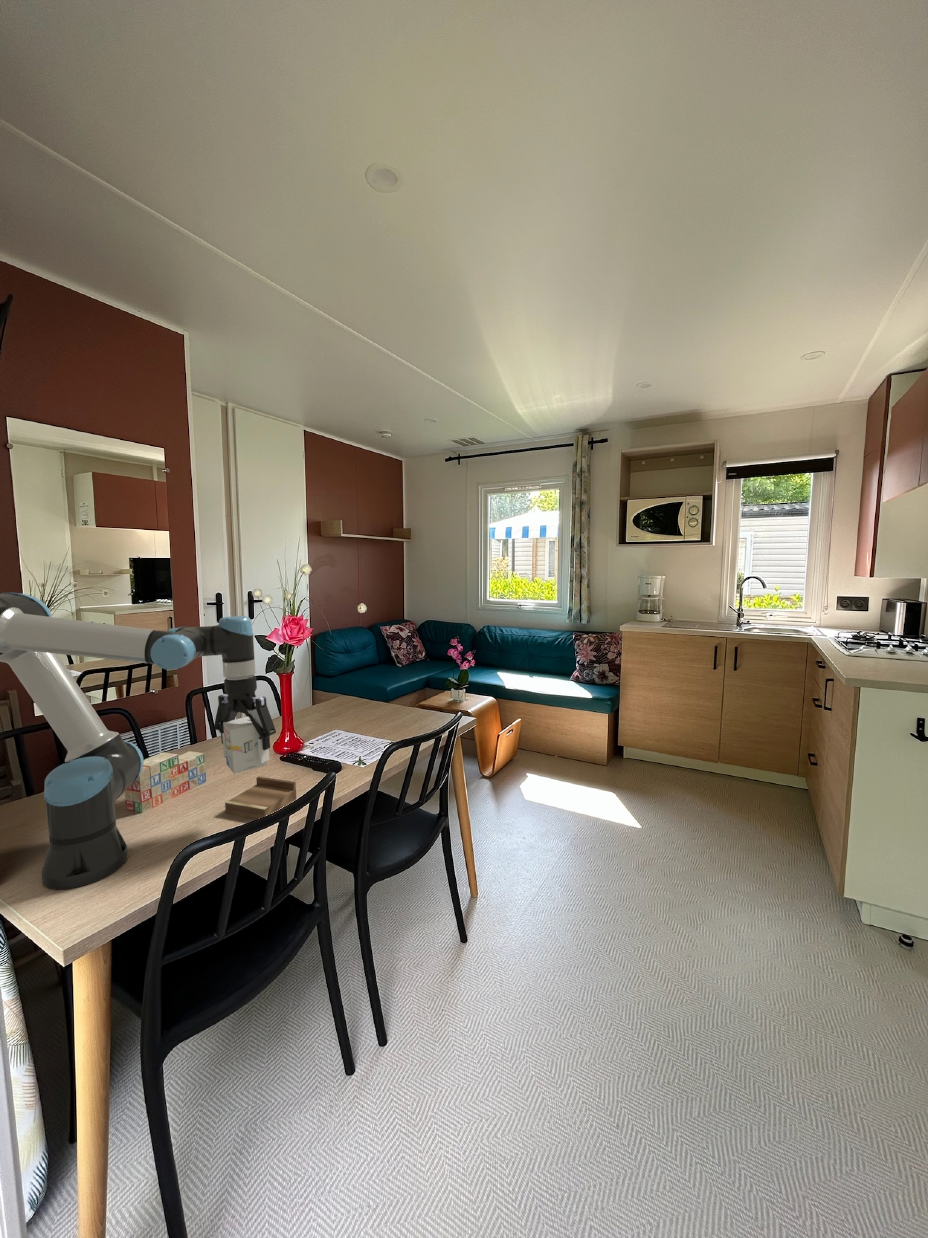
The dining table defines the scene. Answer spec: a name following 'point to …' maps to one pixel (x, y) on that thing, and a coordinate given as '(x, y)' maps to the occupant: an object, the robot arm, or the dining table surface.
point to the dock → (262, 798)
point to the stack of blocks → (165, 779)
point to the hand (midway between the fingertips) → (246, 758)
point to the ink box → (241, 745)
